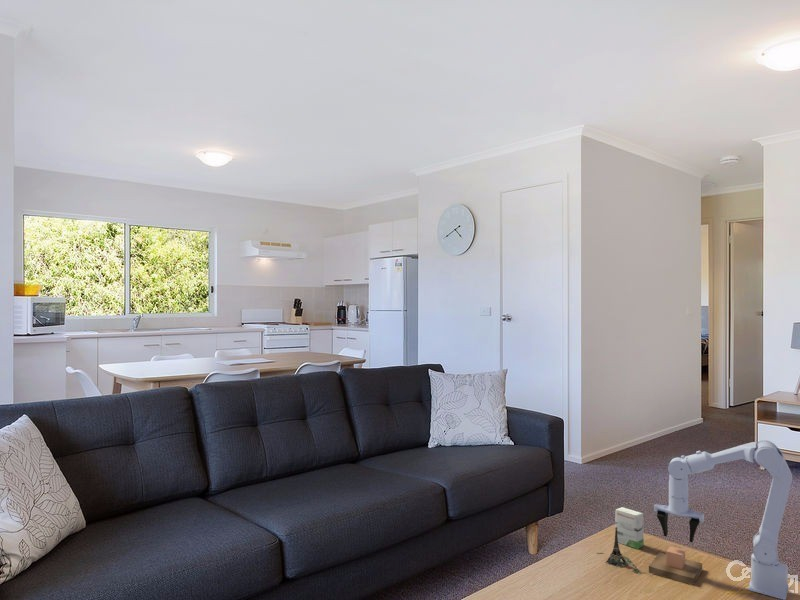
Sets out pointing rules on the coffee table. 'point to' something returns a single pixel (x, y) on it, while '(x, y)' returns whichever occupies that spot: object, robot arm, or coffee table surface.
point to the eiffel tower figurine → (619, 556)
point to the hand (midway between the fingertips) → (678, 538)
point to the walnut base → (676, 569)
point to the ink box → (629, 527)
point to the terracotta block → (675, 557)
